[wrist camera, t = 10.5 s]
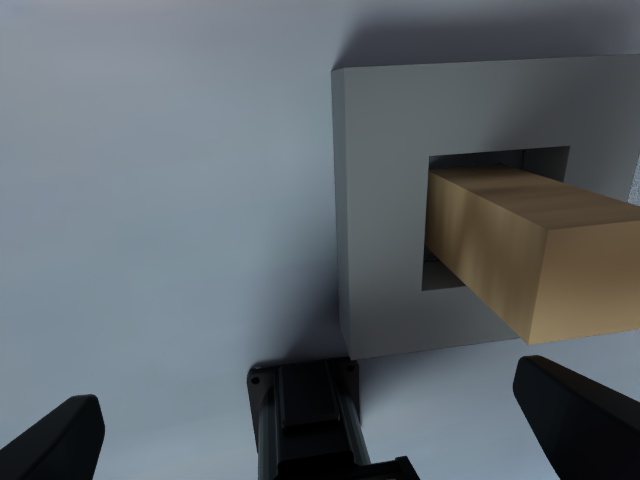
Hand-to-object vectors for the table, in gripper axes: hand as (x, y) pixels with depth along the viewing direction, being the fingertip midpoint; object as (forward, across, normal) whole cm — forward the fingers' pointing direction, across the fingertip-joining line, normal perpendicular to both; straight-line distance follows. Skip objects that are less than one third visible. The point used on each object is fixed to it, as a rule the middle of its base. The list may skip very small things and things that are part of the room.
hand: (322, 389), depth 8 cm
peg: (+12, -9, 0) cm, 15 cm away
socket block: (+12, -9, 0) cm, 15 cm away
